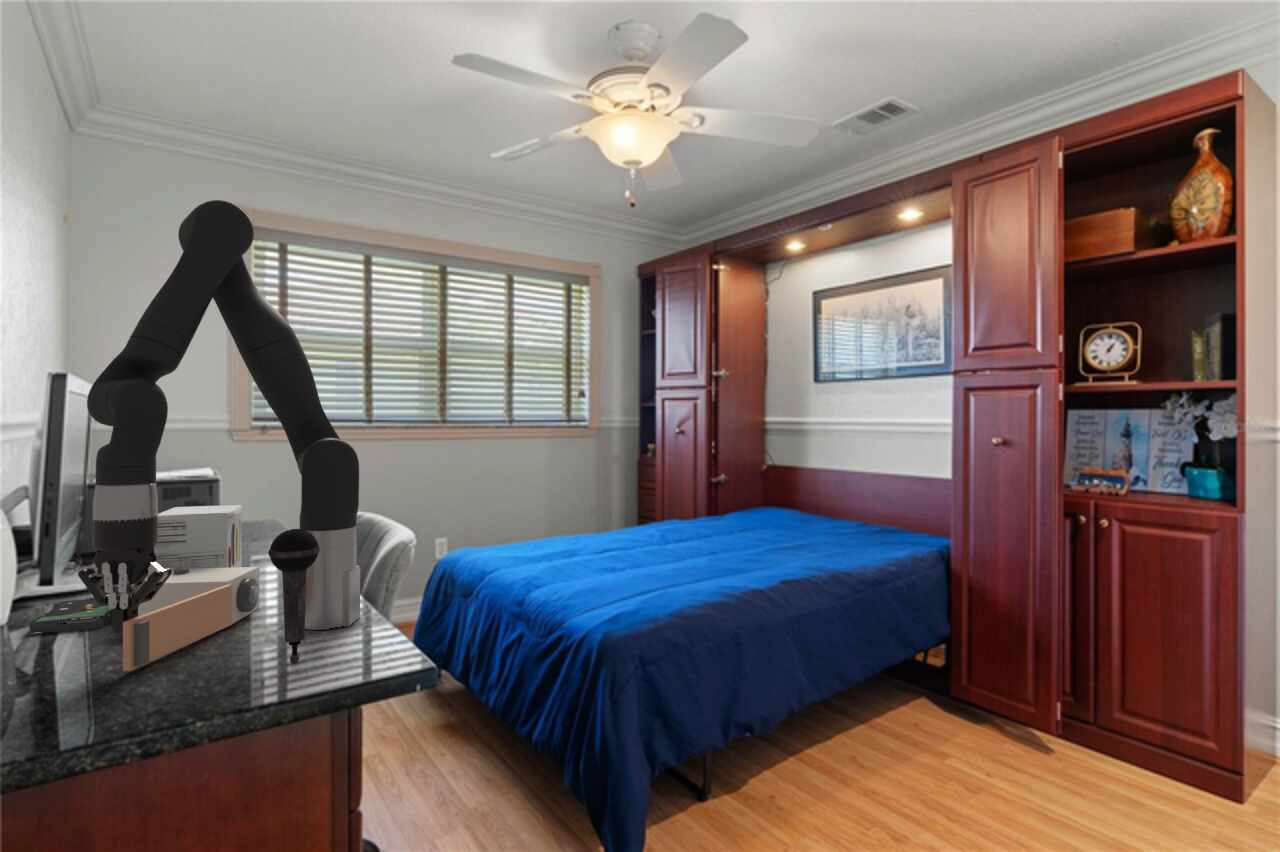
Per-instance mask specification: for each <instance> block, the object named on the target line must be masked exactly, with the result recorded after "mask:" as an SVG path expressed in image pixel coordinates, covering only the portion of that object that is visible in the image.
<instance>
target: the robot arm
mask: <svg viewBox="0 0 1280 852" xmlns="http://www.w3.org/2000/svg"><path fill="white" fill-rule="evenodd" d="M177 235H178V241H179V244H180V247H181V250H182V251H183V252H182V254H181V255H180V258H179V259H178V262H177V264H176V265H175V267H174V269H173V270H172V272H171V273H170V276H168V278H167V279H166V281H165V282H164V283H163V285H162V286H161V288H160V289H159V290H158V292H157V293H156V294H155V296H154V298H153V299H152V300H151V302H150V303H149V304H148V306H147V307H146V309H145V310H144V312H143V314H142V315H141V317H140V319H139V320H138V322H137V324H136V325H135V328H133V329H134V330H133V332H132V333H131V335H130V336H129V338H128V340H127V342H126V345H125V347H124V348H123V349H122V350H121V352H119V353H118V354H117V355H116V357H114V359H112V361H111V362H110V363H109V364H108V365H107V366H106V368H105V369H103V371H102V372H101V374H100V375H99V376H98V377H97V378H96V379H95V381H94V382H93V384H92V385H91V388H90V390H89V392H88V395H87V399H86V408H87V410H88V414H89V415H90V417H91V418H92V419H93V420H94V421H95V422H98V423H99V424H100V425H101V424H102V425H103V426H108V427H112V431H111V437H110V440H109V442H108V443H107V444H104V445H103V446H101V447H100V448H98V450H97V453H96V458H95V489H94V494H93V500H92V548H93V549H94V550H96V553H95V555H94V557H93V563H92V564H91V565H89V566H88V567H87V568H83V569H80V570H78V573H77V576H78V577H79V579H80V580H81V582H82V583H83V584H84V585H85V587H86V588H87V590H88V591H89V593H90V594H91V596H92V597H93V598H94V600H96V601H97V602H98V604H106V605H109V607H110V608H111V609H112V621H111V629H112V631H113V633H114V634H115V635H123V622H124V621H127V620H130V619H133V618H135V617H138V607H139V605H140V604H142V603H144V602H147V601H150V600H152V598H153V597H154V596H155V595H156V593H157V592H158V591H159V589H160V588H161V587H162V586H163V584H164V583H165V582H166V580H167V579H168V578H169V577H170V575H171V574H172V570H171V569H170V568H165V569H163V568H162V567H161V566H160V565H159V564H158V563H156V562H157V556H156V554H155V552H154V546H155V544H156V543H157V540H158V514H159V496H158V495H159V494H158V490H157V489H158V488H157V453H158V450H159V448H160V445H161V441H162V440H163V439H162V438H163V435H164V432H165V427H166V424H167V420H168V416H169V415H168V413H169V408H168V407H169V406H168V401H167V400H168V399H167V397H166V394H165V392H164V391H163V389H162V388H161V387H160V386H159V385H158V384H157V382H158V380H160V379H161V378H163V377H164V376H167V375H169V374H172V373H173V372H175V371H176V369H177V368H178V367H179V365H180V363H181V361H182V360H183V358H184V356H185V354H186V352H187V351H188V348H189V347H190V344H191V343H192V340H193V338H194V336H195V334H196V332H197V330H198V328H199V326H200V324H201V322H202V320H203V318H204V316H205V314H206V312H207V309H208V308H209V305H210V303H211V302H212V300H213V301H214V303H215V305H216V306H217V309H218V311H219V313H220V315H221V317H222V319H223V322H224V323H225V325H226V327H227V329H228V332H229V333H230V336H231V337H232V339H233V341H234V343H235V346H236V348H237V350H238V352H239V354H240V356H241V359H242V361H243V362H244V364H245V366H246V368H247V370H248V373H249V375H250V376H251V377H252V379H253V381H254V383H255V385H256V387H257V388H258V390H259V391H260V393H261V395H262V396H263V398H264V399H265V402H266V403H267V404H268V405H269V407H270V408H271V410H272V411H273V413H274V415H275V416H276V417H277V419H278V420H279V422H280V424H281V426H282V428H283V431H284V433H285V435H286V437H287V440H288V442H289V445H290V448H291V450H292V454H293V457H294V460H295V462H296V465H297V468H298V471H299V473H300V475H301V490H300V492H301V494H300V495H301V503H300V513H299V529H302V530H305V531H308V532H309V533H311V534H312V535H313V536H314V537H315V538H316V540H317V542H318V546H319V547H320V551H319V552H318V556H317V558H316V560H315V562H314V563H313V564H312V565H311V566H310V567H309V568H308V569H307V576H306V606H305V630H307V631H308V630H309V631H310V630H311V631H321V630H324V629H325V630H331V629H330V628H333V629H336V628H335V627H338V628H341V627H340V626H344V627H351V626H352V625H353V624H354V623H355V622H356V621H357V620H358V619H359V618H360V617H361V566H360V565H358V564H357V515H358V511H359V503H360V498H359V497H360V463H359V458H358V457H359V456H358V454H357V451H355V449H354V448H353V446H352V445H351V444H349V443H348V442H347V441H344V440H342V439H341V438H340V436H339V435H338V432H336V430H335V429H334V427H333V425H332V423H331V420H330V419H329V418H328V416H327V414H326V412H325V411H324V410H325V409H324V408H323V406H322V403H321V400H320V396H319V393H318V389H317V385H316V381H315V378H314V375H313V371H312V369H311V365H310V363H309V360H308V357H307V356H306V353H305V351H304V349H303V347H302V345H301V343H300V341H299V339H298V337H297V335H296V333H295V330H293V328H292V326H291V325H290V323H289V322H288V321H287V319H286V318H285V317H283V315H282V314H281V313H280V312H279V311H278V310H277V309H276V308H275V307H274V306H273V305H272V304H271V303H270V302H268V300H267V299H266V298H265V297H264V296H263V294H262V293H261V292H260V290H259V289H258V288H257V286H256V284H255V281H254V280H253V278H252V276H251V274H250V271H249V269H248V268H247V265H246V262H245V260H244V257H243V255H245V254H246V253H247V252H248V250H249V249H250V248H251V246H252V244H253V242H254V237H255V229H254V225H253V222H252V221H251V218H250V216H248V214H247V213H246V212H245V211H244V210H243V208H241V207H240V206H239V205H236V204H234V203H232V202H230V201H227V200H221V199H214V200H209V201H205V202H202V203H201V204H199V205H197V206H196V207H195V208H193V210H192V211H191V212H190V213H189V214H188V215H187V216H186V217H185V218H184V219H183V220H182V222H181V224H180V226H179V227H178V234H177ZM146 579H147V580H146ZM145 580H146V581H145ZM352 623H353V624H352ZM351 624H352V625H351ZM350 625H351V626H350Z"/></svg>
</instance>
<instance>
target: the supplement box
mask: <svg viewBox="0 0 1280 852" xmlns="http://www.w3.org/2000/svg"><path fill="white" fill-rule="evenodd" d="M242 512H243V505H242V504H229V505H196V506H195V505H193V506H175V507H174V506H173V507H171V508H169V509H166V510H165V511H162V512H158V540H157V543H156V544H155V546H154V552H155V554H156V556H157V562H156V563H158V564H159V565H160V566H161V567H162V568H163V569H165V568H170V569H177V568H189V569H196V568H235V567H243V566H242V565H243V563H242V562H243V561H242V558H243V557H242V555H243V553H242V551H243V550H242V549H243V548H242V545H243V543H242V540H243V538H242V537H243V535H242V534H243V533H242V532H243V531H242V529H243V528H242V527H243V526H242V525H243V524H242V521H243V518H242V517H243V516H242V515H243V513H242Z"/></svg>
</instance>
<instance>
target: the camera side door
mask: <svg viewBox="0 0 1280 852" xmlns="http://www.w3.org/2000/svg"><path fill="white" fill-rule="evenodd" d="M233 624H234V623H233V585H225V586H222V587H219V588H216V589H213V590H211V591H208V592H205V593H202V594H199V595H197V596H194V597H191V598H188V599H186V600H183V601H180V602H177V603H174V604H172V605H169V606H166V607H163V608H161V609H158V610H155V611H152V612H149V613H147V614H144V615H141V616H138V617H135V618H133V619H130V620H127V621H124V622H123V634H122V670H123V672H132V671H134V670H135V669H137V668H139V667H142V666H145V665H146V664H149V663H151V662H153V661H155V660H158V659H159V658H162V657H164V656H166V655H169V654H170V653H172V652H175V651H176V650H180V649H181V648H184V647H186V646H188V645H191V644H193V643H195V642H197V641H199V640H201V639H203V638H206V637H208V636H210V635H212V634H214V633H216V632H218V631H219V632H220V631H221V630H223V629H225V628H228V627H230V626H232V625H233Z"/></svg>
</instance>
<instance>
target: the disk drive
mask: <svg viewBox="0 0 1280 852" xmlns="http://www.w3.org/2000/svg"><path fill="white" fill-rule="evenodd" d="M110 623H112V609H111V608H110V607H109V605H106V604H98V602H97V601H96V600H95V599H93V600H84V601H83V600H82V599H80V600H79V599H78V600H68V601H66V602H63V603H62V604H60V605H58V606H56V607H55V608H53V609H51V610H50V611H47V612H46V613H44V614H42V615H40V616H39V617H36V618H35V619H34V620H31V621H30V624H29V634H30V633H34V632H53V633H60V632H61V633H62V632H63V633H64V632H69V631H70V632H72V631H82V630H84V631H85V630H94V629H102V628H105V627H106V626H107V625H109V624H110Z"/></svg>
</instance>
